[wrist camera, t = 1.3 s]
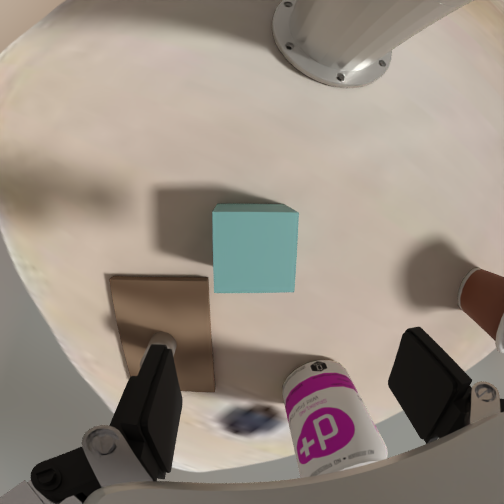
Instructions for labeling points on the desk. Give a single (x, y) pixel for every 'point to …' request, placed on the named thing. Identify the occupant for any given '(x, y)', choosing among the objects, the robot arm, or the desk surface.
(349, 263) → the desk surface
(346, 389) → the supplement can
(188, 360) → the post board
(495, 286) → the coffee cup
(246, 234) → the teal cube
